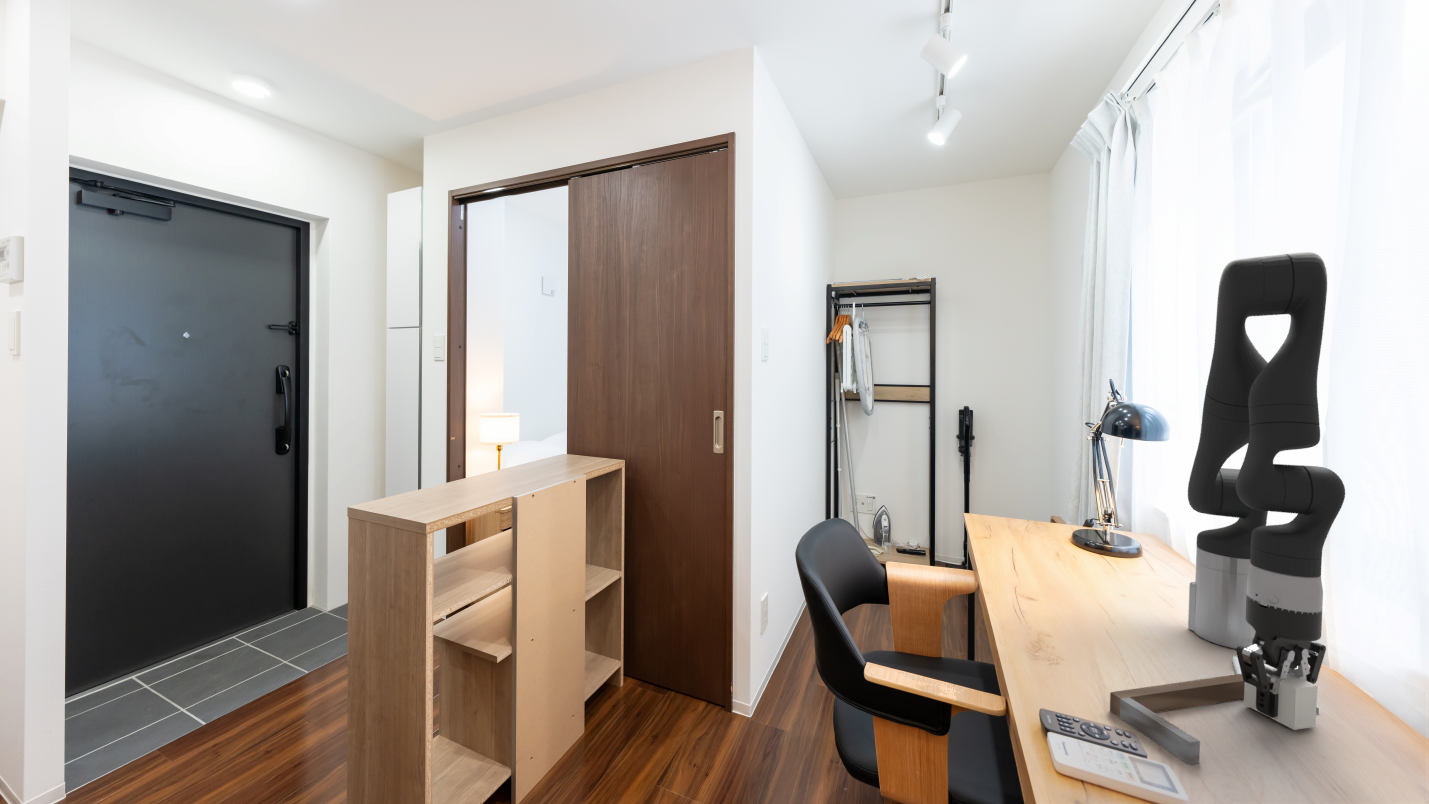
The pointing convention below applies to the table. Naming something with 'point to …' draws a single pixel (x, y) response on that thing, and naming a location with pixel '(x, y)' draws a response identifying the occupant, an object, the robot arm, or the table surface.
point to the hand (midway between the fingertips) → (1278, 711)
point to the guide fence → (1147, 701)
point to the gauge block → (1290, 701)
